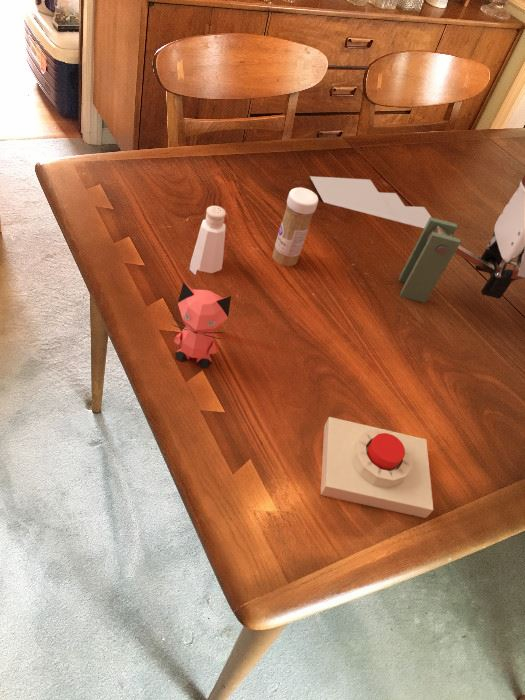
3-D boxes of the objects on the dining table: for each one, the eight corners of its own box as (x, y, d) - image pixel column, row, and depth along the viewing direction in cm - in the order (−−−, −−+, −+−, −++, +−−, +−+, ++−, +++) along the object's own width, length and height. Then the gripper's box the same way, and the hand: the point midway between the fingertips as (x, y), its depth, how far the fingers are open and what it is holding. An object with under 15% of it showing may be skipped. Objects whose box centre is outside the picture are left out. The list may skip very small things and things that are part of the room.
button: (398, 444, 68) (404, 437, 66) (400, 473, 65) (406, 465, 64) (367, 437, 67) (372, 429, 66) (367, 465, 65) (372, 458, 63)
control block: (419, 448, 73) (432, 431, 70) (425, 518, 66) (440, 503, 63) (324, 426, 72) (333, 408, 69) (320, 495, 65) (330, 478, 62)
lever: (489, 267, 91) (500, 257, 90) (494, 288, 88) (506, 278, 86) (425, 230, 88) (436, 219, 86) (428, 250, 84) (439, 239, 82)
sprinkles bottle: (265, 257, 93) (284, 187, 83) (288, 254, 95) (310, 185, 85) (277, 275, 90) (298, 204, 81) (301, 271, 92) (324, 202, 83)
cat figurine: (162, 365, 73) (170, 298, 64) (177, 329, 78) (186, 263, 69) (214, 379, 73) (229, 315, 64) (225, 343, 78) (241, 279, 69)
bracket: (439, 287, 98) (478, 222, 88) (444, 322, 91) (487, 256, 82) (374, 270, 97) (405, 203, 87) (375, 304, 91) (409, 236, 81)
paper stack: (407, 184, 120) (409, 181, 120) (462, 259, 105) (463, 256, 105) (308, 179, 113) (309, 176, 112) (351, 259, 97) (353, 256, 97)
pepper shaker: (212, 285, 85) (224, 226, 77) (182, 270, 86) (190, 210, 78) (228, 267, 89) (241, 209, 81) (199, 253, 90) (209, 194, 82)
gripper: (594, 226, 72) (519, 324, 85) (560, 162, 83) (499, 256, 96) (539, 211, 71) (472, 312, 84) (513, 149, 83) (458, 246, 96)
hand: (487, 282), depth 90 cm, fingers closed on lever, 5 cm apart
